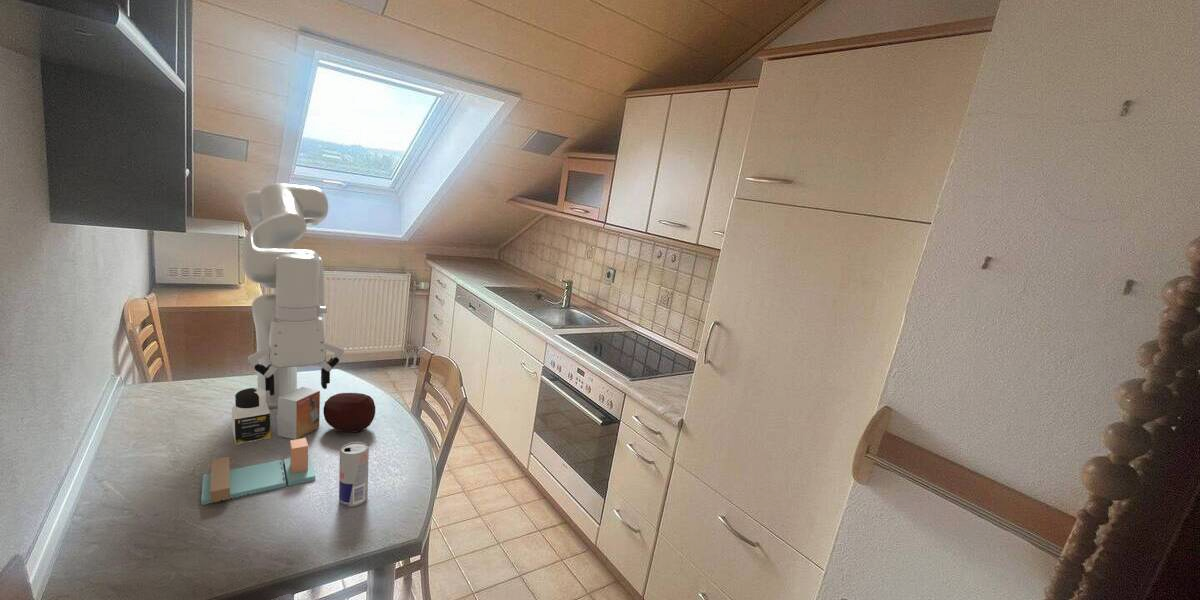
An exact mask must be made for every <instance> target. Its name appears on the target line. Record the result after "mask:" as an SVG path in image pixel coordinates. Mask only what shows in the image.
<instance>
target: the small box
mask: <svg viewBox="0 0 1200 600" xmlns="http://www.w3.org/2000/svg"><path fill="white" fill-rule="evenodd" d="M320 396H321V391H320V390H318V389H312V388H310V387H309V388H308V387H304V386H301V387H299V388H297V390H295V391H293V392H290V393H288V394H286V395H283V396H280V397H278V407H277V437H284V438H287V439H290V440H296V439H301V437H303V436H305V435H307V434H309V433H311V432H312V431H314V430H315V431H316V430H318V429H319V428H320V415H321V413H320V408H321V407H320V406H321V403H320V401H321V397H320Z"/></svg>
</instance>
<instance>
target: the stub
mask: <svg viewBox="0 0 1200 600" xmlns="http://www.w3.org/2000/svg"><path fill="white" fill-rule="evenodd" d="M289 446H290V448H289V451H290V452H289V455H290V456H289V458H284V459H283V467H284V472H285V477H286V482H287V486H288V487H289V486H294V485H300V484H303V483H308V482H312V481H315V480H316V474H315V470H314V468H313V467H314V466H313V463H312V460H311V457H310V454H309V444H308V441H307V437H302V438H298V439H290V442H289Z"/></svg>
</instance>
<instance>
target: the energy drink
mask: <svg viewBox="0 0 1200 600" xmlns="http://www.w3.org/2000/svg"><path fill="white" fill-rule="evenodd" d="M369 454H370V453H369V447H368V444H367V443H364V442H360V441H354V442H348V443H346V444H344V445H343V446H341V449H340V452H339V469H338V471H339V474H338V475H339V479H338V480H339V481H338V483H339V484H338V486H339V487H338V489H339V490H338V503H339V504H340V505H341V506H343V507H346V508H353V507H354V508H355V507H357V506H360V505H362V504H363V503H365V502H366V501H367V500H368V494H369V493H368V492H369V491H368V490H369V485H368V484H369V456H370V455H369Z"/></svg>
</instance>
